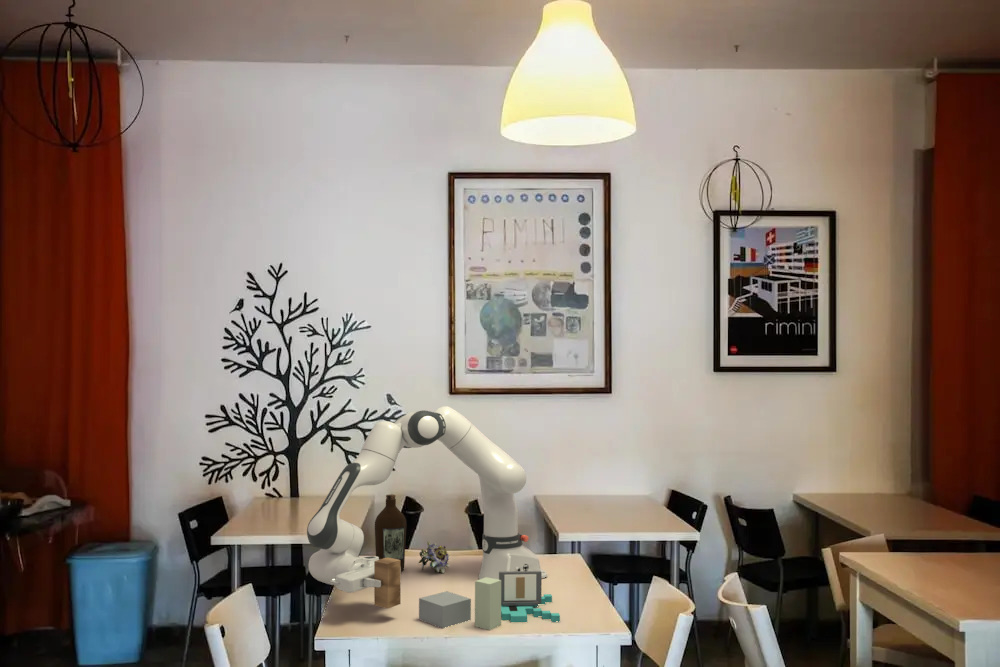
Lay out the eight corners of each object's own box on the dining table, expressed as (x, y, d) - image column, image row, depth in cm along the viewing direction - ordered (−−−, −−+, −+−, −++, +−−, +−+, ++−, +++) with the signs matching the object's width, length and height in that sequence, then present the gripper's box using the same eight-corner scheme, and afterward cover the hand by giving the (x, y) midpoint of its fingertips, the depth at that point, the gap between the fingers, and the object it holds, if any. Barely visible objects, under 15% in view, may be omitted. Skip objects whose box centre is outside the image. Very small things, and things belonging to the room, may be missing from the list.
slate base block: (446, 612, 234) (446, 591, 234) (470, 620, 227) (470, 598, 227) (418, 620, 227) (419, 598, 227) (442, 629, 220) (442, 606, 220)
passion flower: (441, 589, 275) (438, 565, 268) (412, 580, 279) (408, 556, 272) (456, 564, 284) (453, 540, 277) (427, 555, 287) (424, 531, 281)
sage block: (486, 621, 225) (486, 577, 226) (501, 625, 222) (501, 580, 223) (474, 626, 221) (475, 581, 222) (489, 630, 218) (490, 584, 219)
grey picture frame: (539, 599, 239) (539, 568, 239) (541, 605, 234) (541, 572, 234) (498, 600, 238) (498, 568, 238) (499, 605, 233) (499, 573, 233)
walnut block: (387, 600, 231) (387, 557, 231) (400, 604, 228) (400, 560, 228) (374, 605, 227) (374, 561, 227) (387, 608, 224) (387, 563, 224)
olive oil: (370, 567, 281) (371, 493, 282) (400, 564, 286) (401, 491, 286) (379, 575, 272) (379, 498, 272) (410, 572, 276) (410, 496, 277)
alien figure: (551, 601, 245) (483, 602, 244) (551, 594, 245) (483, 595, 244) (559, 623, 225) (486, 624, 224) (559, 615, 225) (486, 616, 224)
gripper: (326, 570, 227) (362, 578, 218) (379, 554, 243) (414, 561, 235) (326, 593, 226) (362, 602, 218) (379, 576, 243) (414, 584, 235)
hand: (389, 581), depth 227 cm, fingers closed on walnut block, 5 cm apart
